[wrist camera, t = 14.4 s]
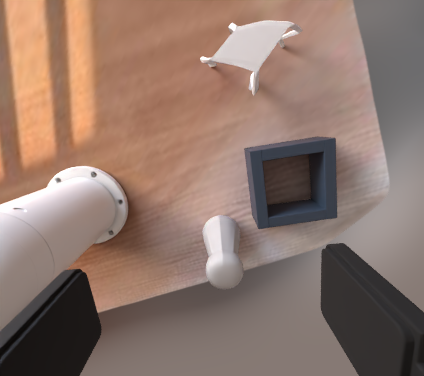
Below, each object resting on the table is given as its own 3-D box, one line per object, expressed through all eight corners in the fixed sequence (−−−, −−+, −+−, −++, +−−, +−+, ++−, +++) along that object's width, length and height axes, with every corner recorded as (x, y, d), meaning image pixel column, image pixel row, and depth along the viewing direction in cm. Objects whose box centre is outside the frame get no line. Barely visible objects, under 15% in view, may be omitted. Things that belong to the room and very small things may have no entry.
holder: (252, 216, 37) (258, 229, 32) (244, 148, 34) (249, 151, 29) (320, 206, 37) (337, 217, 32) (318, 136, 34) (335, 137, 29)
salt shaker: (245, 221, 37) (262, 269, 25) (226, 248, 39) (234, 307, 26) (214, 204, 37) (216, 244, 24) (196, 232, 38) (189, 284, 25)
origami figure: (234, 111, 33) (238, 108, 28) (198, 59, 31) (195, 47, 26) (305, 55, 31) (322, 41, 26) (271, -3, 29) (283, -28, 25)
